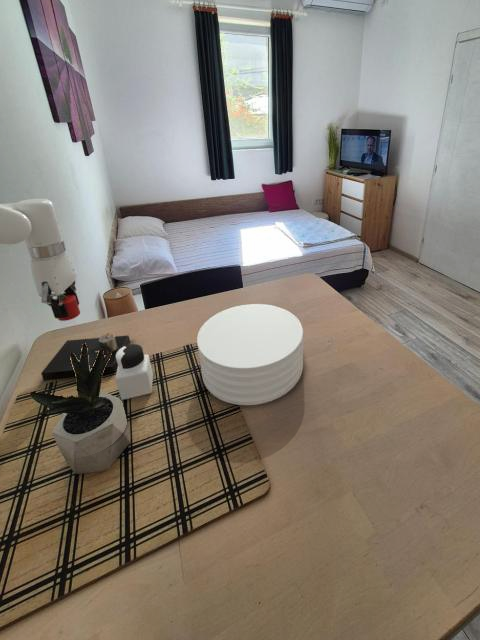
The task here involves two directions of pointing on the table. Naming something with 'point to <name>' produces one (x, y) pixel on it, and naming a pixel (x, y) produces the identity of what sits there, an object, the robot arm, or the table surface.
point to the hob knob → (108, 343)
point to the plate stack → (251, 353)
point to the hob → (62, 363)
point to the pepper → (70, 307)
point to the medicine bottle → (133, 372)
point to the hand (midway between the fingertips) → (67, 310)
